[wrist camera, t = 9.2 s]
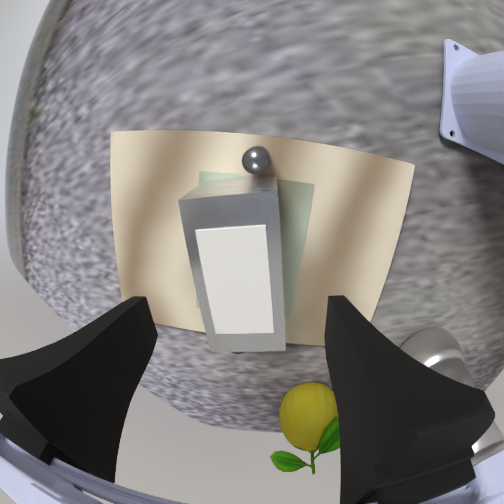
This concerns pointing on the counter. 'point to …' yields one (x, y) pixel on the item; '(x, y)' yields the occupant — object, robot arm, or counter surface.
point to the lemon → (308, 424)
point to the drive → (237, 261)
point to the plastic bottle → (451, 376)
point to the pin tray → (291, 219)
